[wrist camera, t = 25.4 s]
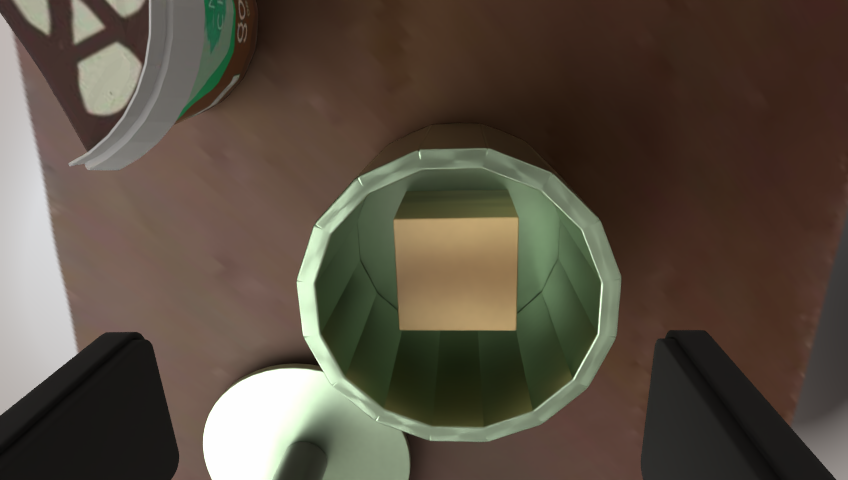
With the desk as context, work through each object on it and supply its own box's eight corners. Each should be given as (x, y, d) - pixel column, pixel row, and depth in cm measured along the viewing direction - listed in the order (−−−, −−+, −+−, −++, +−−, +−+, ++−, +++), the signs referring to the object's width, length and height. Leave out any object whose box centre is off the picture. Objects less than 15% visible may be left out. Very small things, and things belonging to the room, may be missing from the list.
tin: (337, 126, 25) (280, 152, 17) (577, 119, 25) (634, 144, 17) (355, 336, 29) (314, 439, 21) (566, 336, 28) (608, 444, 20)
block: (405, 190, 26) (392, 218, 21) (508, 189, 25) (519, 217, 21) (409, 285, 27) (398, 331, 23) (507, 284, 27) (516, 331, 22)
